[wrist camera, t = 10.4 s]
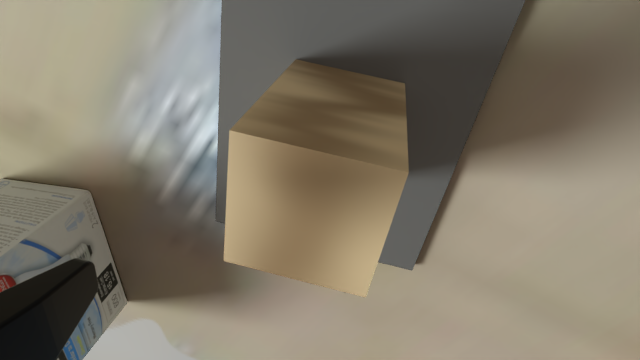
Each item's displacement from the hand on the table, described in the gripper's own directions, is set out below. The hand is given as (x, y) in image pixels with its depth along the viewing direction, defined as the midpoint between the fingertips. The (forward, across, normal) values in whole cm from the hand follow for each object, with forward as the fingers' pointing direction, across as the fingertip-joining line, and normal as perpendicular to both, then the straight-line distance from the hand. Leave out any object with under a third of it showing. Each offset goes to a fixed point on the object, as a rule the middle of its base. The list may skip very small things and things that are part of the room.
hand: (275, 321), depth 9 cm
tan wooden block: (+12, 0, 0) cm, 12 cm away
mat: (+12, 0, 0) cm, 12 cm away
